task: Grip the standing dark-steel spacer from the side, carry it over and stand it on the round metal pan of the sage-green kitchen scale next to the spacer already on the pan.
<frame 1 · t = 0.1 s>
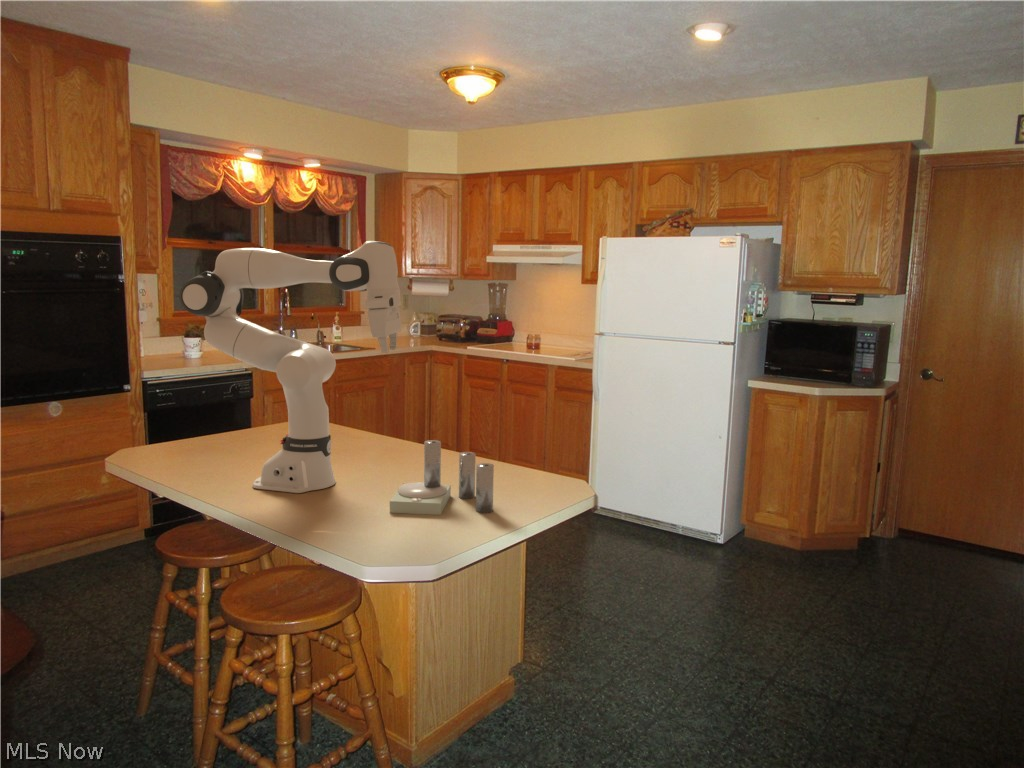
hand: (389, 351, 196), 39 cm above the kitchen island, tool pointing down, fingers open, 8 cm apart
spacer b: (432, 485, 191), point 4 cm above the kitchen island, touching scale
scale: (421, 503, 187), on the kitchen island
spacer a: (484, 510, 183), on the kitchen island
spacer c: (466, 496, 194), on the kitchen island
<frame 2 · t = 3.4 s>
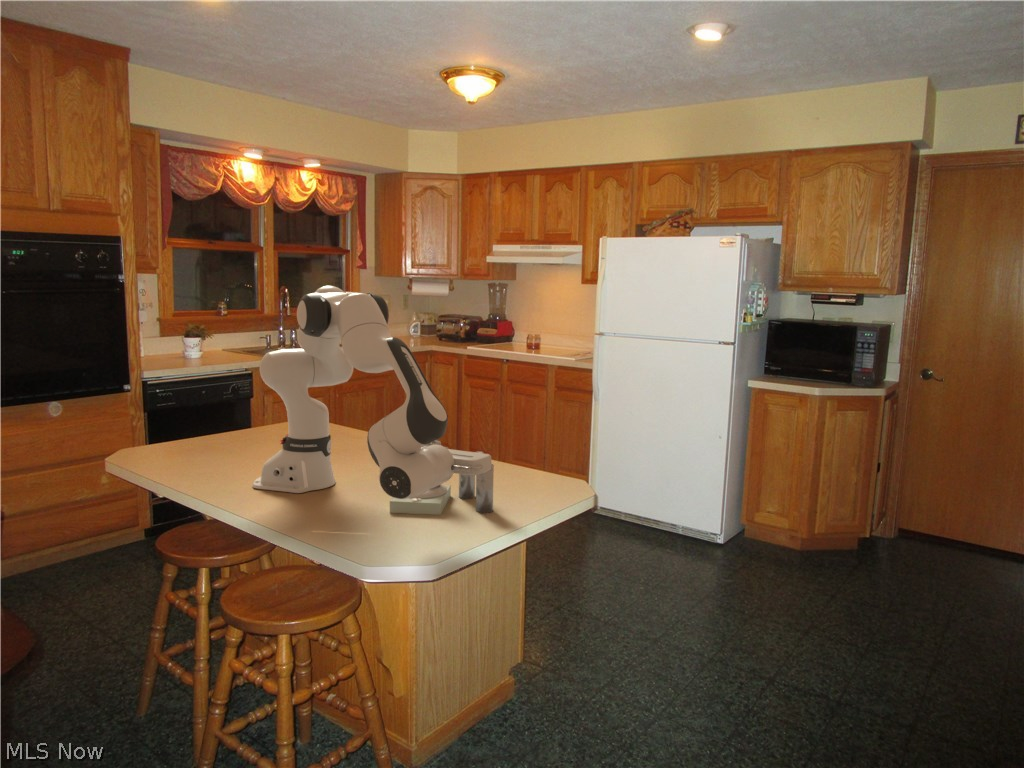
hand: (463, 452, 170), 18 cm above the kitchen island, tool horizontal, fingers open, 8 cm apart
nothing on the kitchen island moved.
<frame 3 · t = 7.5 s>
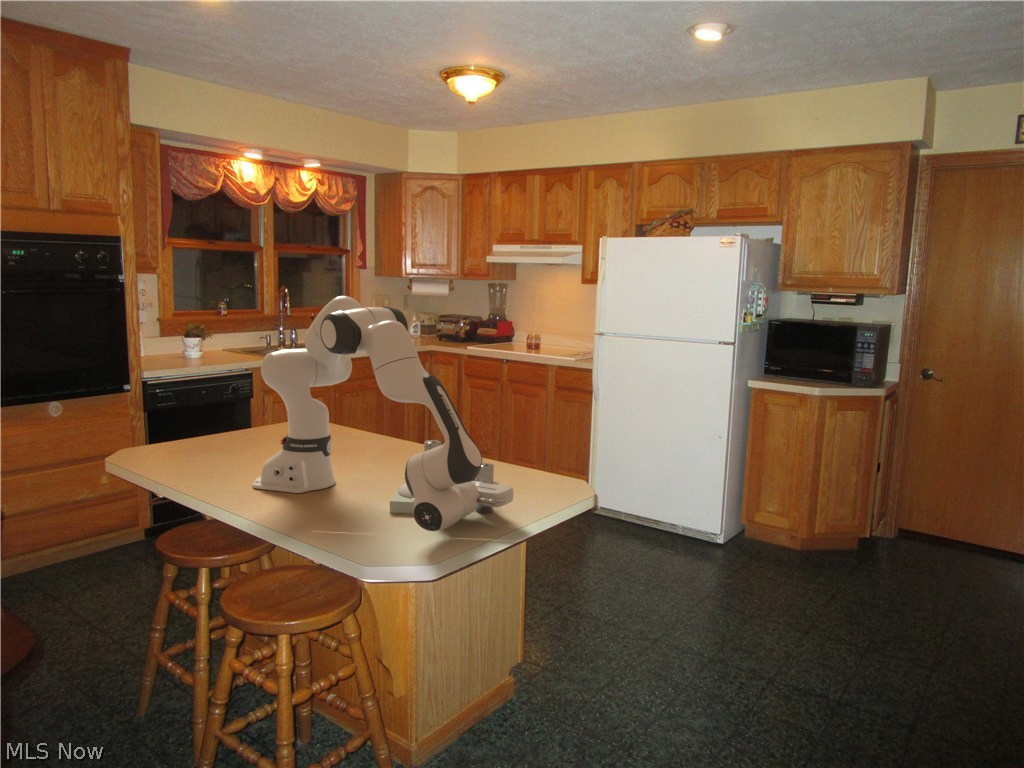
hand: (486, 483, 183), 7 cm above the kitchen island, tool horizontal, fingers closed on spacer a, 4 cm apart
spacer a: (484, 510, 183), on the kitchen island, touching gripper
everything else where it was.
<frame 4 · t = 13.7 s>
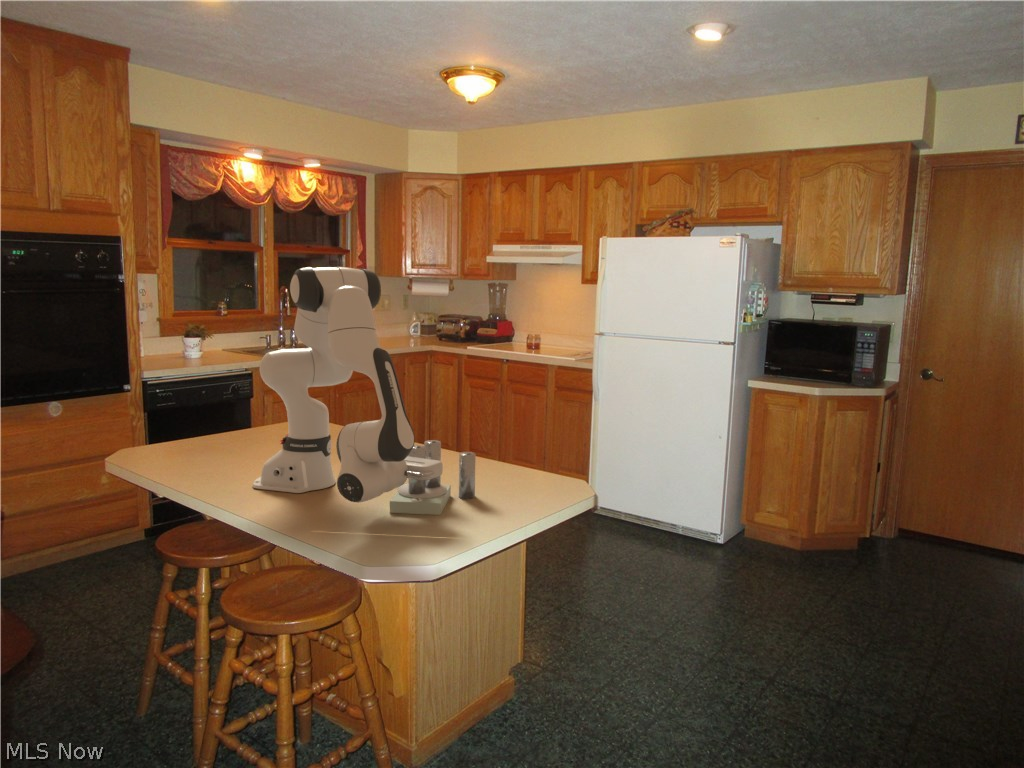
hand: (419, 458, 185), 12 cm above the kitchen island, tool horizontal, fingers closed on spacer a, 4 cm apart
spacer a: (417, 492, 185), point 4 cm above the kitchen island, touching gripper, scale
everything else where it was.
when the fingers open (12 cm above the kitchen island, at t = 14.3 s): spacer a stays where it is, resting on scale.
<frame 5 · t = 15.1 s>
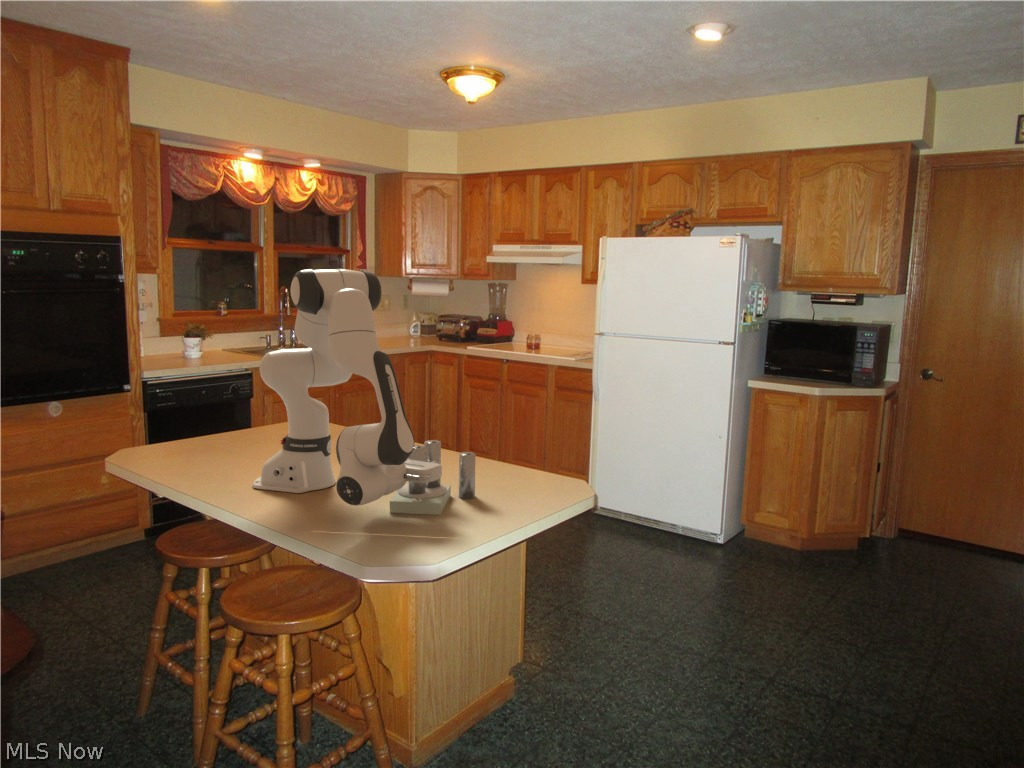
hand: (418, 461, 185), 12 cm above the kitchen island, tool horizontal, fingers open, 8 cm apart
spacer a: (417, 492, 185), point 4 cm above the kitchen island, touching scale
everything else where it was.
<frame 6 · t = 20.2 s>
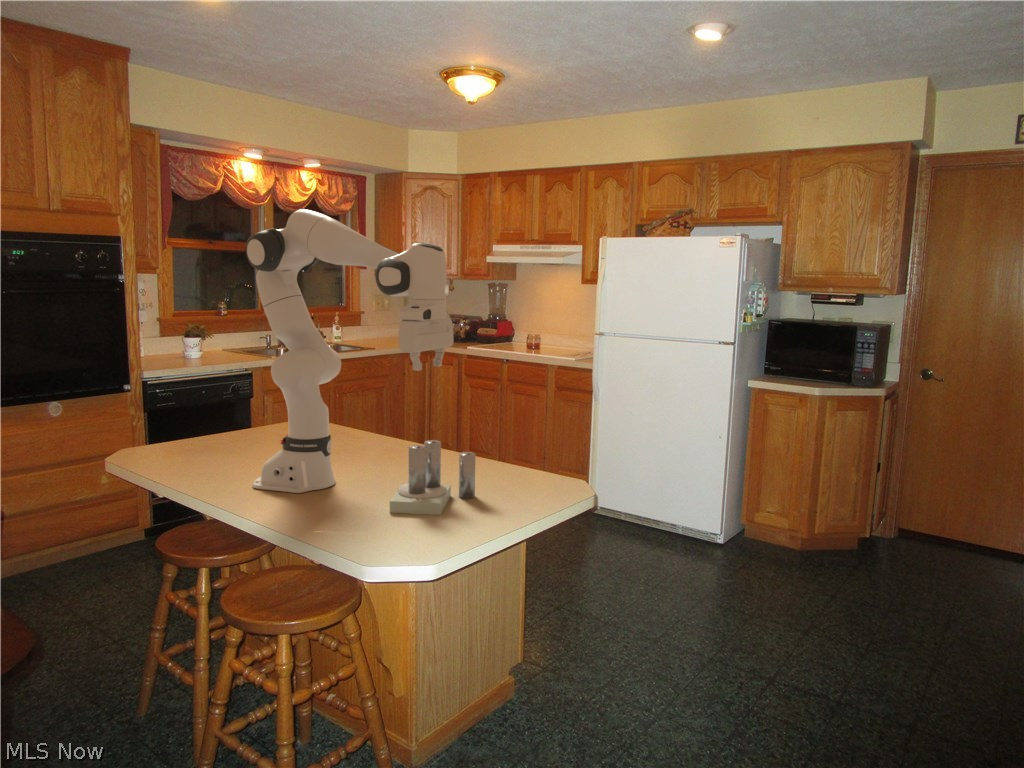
hand: (427, 368, 174), 37 cm above the kitchen island, tool pointing down, fingers open, 8 cm apart
nothing on the kitchen island moved.
at the end: spacer a inside the target area on the scale (2.9 cm from its centre), point 3.6 cm above the scale's base; spacer a tilted 0°; the gripper is holding nothing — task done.
